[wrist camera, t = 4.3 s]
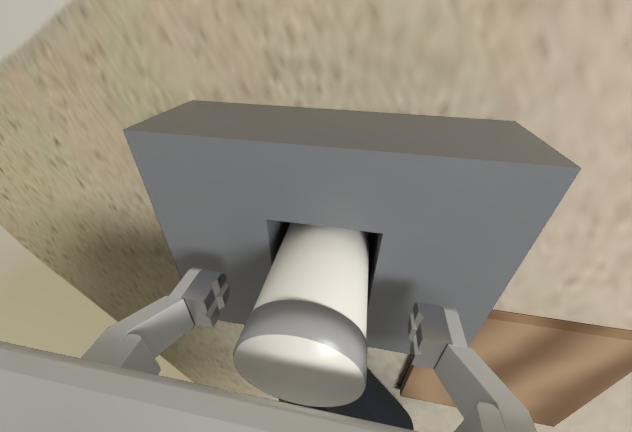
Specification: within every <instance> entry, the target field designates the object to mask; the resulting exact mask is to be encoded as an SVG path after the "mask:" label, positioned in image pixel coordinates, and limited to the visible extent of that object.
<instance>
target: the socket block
mask: <svg viewBox="0 0 632 432" xmlns="http://www.w3.org/2000/svg"><path fill="white" fill-rule="evenodd" d="M123 132H124V134H125V137H126V139H127V142H128V144H129V147H130V150H131V152H132V155H133V157H134V160H135V162H136V165H137V167H138V170H139V172H140V175H141V178H142V180H143V183H144V185H145V188H146V190H147V193H148V195H149V198H150V200H151V203H152V205H153V208H154V211H155V213H156V216H157V218H158V221H159V223H160V226H161V228H162V231H163V233H164V236H165V239H166V241H167V244H168V246H169V249H170V251H171V254H172V256H173V259H174V261H175V264H176V266H177V269H178V272H179V274H180V277H181V279H182V278H183V277H184V275H185V274H186V273H187V272H188V270H189V269H191V268H192V267H193V268H199V269H205V270H210V271H216V272H221V273H226V277H227V279H226V281H225V282H226V283H227V284H228V285H229V289H230V294H229V298H228V301H227V303H226V305H225V306H224V307H223V308H221V309H220V310H219V311H220V316H219V318H218V320H221V321H227V322H233V323H238V324H244V325H245V324H246V321H247V319H248V317H249V315H250V314H251V312H252V311H253V309H254V306H255V304H256V302H257V299H258V297H259V295H260V292H261V290H262V288H263V285H264V283H265V281H266V278H267V276H268V274H269V271H270V269H271V267H272V264H273V262H274V260H275V257H276V255H277V253H278V250H279V248H280V246H281V243H282V241H283V239H284V236H285V234H286V232H287V229H288V227H289V225H290V222H292V223H300V224H309V225H317V226H325V227H333V228H341V229H349V230H357V231H365V232H372V234H371V240H370V245H369V265H368V296H367V328H366V341H367V347H372V348H378V349H384V350H389V351H395V352H400V353H406V354H410V346H411V343H412V342H411V340H410V339H409V338H408V321H409V317H410V314H412V313H413V306H414V303H415V302H418V303H425V304H432V305H439V306H444V307H451V308H455V309H456V310H457V312H458V315H459V319H460V322H461V326H462V329H463V333H464V336H465V340H466V343H467V347H468V346H469V345H470V343H471V342H472V340H473V339H474V337H475V335H476V334H477V332H478V331H479V329H480V327H481V326H482V324H483V323H484V321H485V320H486V318H487V316H488V315H489V313H490V312H491V310H492V309H493V307H494V305H495V304H496V302H497V301H498V299H499V297H500V296H501V294H502V293H503V291H504V290H505V288H506V286H507V285H508V283H509V282H510V280H511V279H512V277H513V275H514V274H515V272H516V271H517V269H518V267H519V266H520V264H521V263H522V261H523V260H524V258H525V256H526V255H527V253H528V252H529V250H530V249H531V247H532V245H533V244H534V242H535V241H536V239H537V238H538V236H539V234H540V233H541V231H542V230H543V228H544V226H545V225H546V223H547V222H548V220H549V219H550V217H551V215H552V214H553V212H554V211H555V209H556V208H557V206H558V204H559V203H560V201H561V200H562V198H563V196H564V195H565V193H566V192H567V190H568V189H569V187H570V185H571V184H572V182H573V181H574V179H575V178H576V176H577V174H578V173H579V171H580V170H581V168H580V167H579V166H578V165H576V164H575V163H573V162H572V161H571V160H569V159H568V158H566V157H565V156H563V155H562V154H561V153H559V152H558V151H556V150H555V149H554V148H552V147H551V146H549V145H548V144H547V143H545V142H544V141H542V140H541V139H539V138H538V137H537V136H535V135H534V134H532V133H531V132H530V131H528V130H527V129H525V128H524V127H523V126H521V125H520V124H518V123H517V122H516V121H501V120H486V119H470V118H455V117H439V116H424V115H409V114H393V113H378V112H362V111H347V110H332V109H316V108H301V107H285V106H270V105H254V104H239V103H224V102H208V101H193V100H192V101H190V102H187V103H185V104H183V105H180V106H178V107H176V108H173V109H171V110H169V111H166V112H164V113H161V114H159V115H157V116H154V117H152V118H150V119H147V120H145V121H143V122H140V123H138V124H135V125H133V126H131V127H128V128H126V129H124V130H123Z"/></svg>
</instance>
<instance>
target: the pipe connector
mask: <svg viewBox="0 0 632 432" xmlns="http://www.w3.org/2000/svg"><path fill="white" fill-rule="evenodd" d="M279 402H284V403H289V404H293V405H298V406H303V407H307V408H312V409H316V410H321V411H326V412H330V413H335V414H340V415H344V416H349V417H353V418H358V419H363V420H367V421H372V422H377V423H381V424H386V425H390V426H395V427H400V428H404V429H409V430H413V424H412V420H411V418H410V416H409V414H408V413H407V412H406V410H405V409H404V408H403V407H402V406H401V405H400V404H399V403H398V401H397V400H396V399H395V398H394V397H393V396H392V395H391V394H390V393H389V392H388V391H387V389H386V388H385V387H384V386H383V385H382V384H381V383H380V382H379V381H378V380H377V379H376V377H375V376H374V375H373V374H372V373H371V372H370V371H369V370H368V369H367V378H366V388H365V390H364V392H363V394H362V395H361V396H360V397H359V398H358V399H357V400H355V401H353V402H351V403H349V404H346V405H342V406H335V407H314V406H306V405H301V404H296V403H292V402H288V401H285V400H282V399H279Z"/></svg>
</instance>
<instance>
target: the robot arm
mask: <svg viewBox="0 0 632 432" xmlns="http://www.w3.org/2000/svg"><path fill="white" fill-rule="evenodd" d="M226 279H227V277H226V273H221V272H216V271H210V270H205V269H199V268H193V267H192V268H191V269H189V270H188V272H187V273H186V274H185V275H184V277H183V278H182V279H181V281H180V282H179V283H178V285H177V286H176V287H175V288H174V290H173V291H172V292H171V294H170V295H169V296H164V297H162V298H160V299H159V300H157V301H155V302H153V303H151V304H150V305H148V306H146V307H144V308H142V309H141V310H139V311H137V312H135V313H133V314H132V315H130V316H128V317H126V318H124V319H123V320H121V321H119V322H117V323H116V324H114V325H112V326H110V327H108V328H107V329H106V330H105V332H104V333H103V334H102V335H101V336H100V337H99V338H98V339H97V341H96V342H95V343H94V344H93V345H92V346H91V347H90V349H89V350H88V351H87V352H86V353H85V354H84V355H83V356H82V357H81V359H80V358H76V357H71V356H66V355H62V354H57V353H52V352H48V351H43V350H38V349H34V348H29V347H25V346H20V345H16V344H11V343H7V342H2V341H0V432H418V431H414V430H409V429H404V428H400V427H395V426H390V425H386V424H381V423H377V422H372V421H367V420H363V419H358V418H353V417H349V416H344V415H340V414H335V413H330V412H326V411H321V410H316V409H312V408H307V407H303V406H298V405H293V404H289V403H284V402H279V401H275V400H270V399H266V398H261V397H256V396H252V395H247V394H243V393H238V392H233V391H229V390H224V389H219V388H215V387H210V386H205V385H201V384H196V383H192V382H187V381H182V380H177V379H173V378H168V377H164V376H159V375H158V374H159V372H160V366H159V364H158V363H157V361H156V360H155V358H156V357H157V356H158V355H160V354H161V353H162V352H163V351H165V350H166V349H167V348H168V347H170V346H171V345H172V344H173V343H175V342H176V341H177V340H178V339H180V338H181V337H182V336H183V335H185V334H186V333H187V332H188V331H190V330H191V329H192V328H193V327H194V325H196V326H203V327H209V328H213V327H214V325H215V324H216V322H217V320H218V318H219V316H220V311H219V310H220V309H221V308H223V307H224V306H225V305H226V303H227V301H228V298H229V294H230V289H229V285H228V284H227V283H226V282H225V281H226ZM408 338H409V339H410V340H411V342H412V343H411V346H410V357H411V365H415V366H419V367H424V368H429V369H434V372H435V374H436V375H437V377H438V378H439V380H440V382H441V383H442V385H443V386H444V388H445V389H446V391H447V393H448V394H449V396H450V397H451V399H452V400H453V402H454V404H455V405H456V407H457V408H458V410H459V411H460V413H461V415H462V416H463V418H464V421H463V422H462V423H461V424H460V425H459V426H458V428H457V429H456V430H455V431H454V432H537V431H536V428H535V426H534V423H533V421H532V418H531V416H530V413H529V411H528V410H527V408H526V407H525V406H524V405H523V404H522V403H521V402H520V401H519V400H518V399H517V397H516V396H515V395H514V394H513V393H512V392H511V391H510V390H509V389H508V388H507V386H506V385H505V384H504V383H503V382H502V381H501V380H500V379H499V378H498V377H497V375H496V374H495V373H494V372H493V371H492V370H491V369H490V368H489V367H488V365H487V364H486V363H485V362H484V361H483V360H482V359H481V358H480V357H479V356H478V354H477V353H476V352H475V351H474V350H473V349H472V348H468V347H467V343H466V340H465V336H464V333H463V329H462V326H461V322H460V319H459V315H458V312H457V310H456V309H455V308H451V307H444V306H439V305H432V304H425V303H418V302H415V303H414V306H413V313H412V314H410V317H409V321H408Z"/></svg>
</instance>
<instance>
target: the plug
mask: <svg viewBox="0 0 632 432" xmlns="http://www.w3.org/2000/svg"><path fill="white" fill-rule="evenodd" d="M369 234H370V232H365V231H357V230H349V229H341V228H333V227H325V226H317V225H309V224H300V223H292V222H290V225H289V227H288V229H287V232H286V234H285V236H284V239H283V241H282V243H281V246H280V248H279V250H278V253H277V255H276V257H275V260H274V262H273V264H272V267H271V269H270V271H269V274H268V276H267V278H266V281H265V283H264V285H263V288H262V290H261V292H260V295H259V297H258V299H257V302H256V304H255V306H254V309H253V311H252V312H251V314H250V315H249V317H248V319H247V321H246V324H245V326H244V328H243V331H242V333H241V335H240V338H239V340H238V342H237V344H236V347H235V349H234V352H233V360H234V364H235V367H236V369H237V370H238V372H239V373H240V374H241V376H242V377H243V378H244V379H246V380H247V381H248V382H249V383H250V384H252V385H253V386H255V387H256V388H258V389H260V390H261V391H263V392H265V393H267V394H269V395H272V396H274V397H276V398H279V399H282V400H285V401H288V402H292V403H296V404H301V405H306V406H314V407H335V406H342V405H346V404H349V403H351V402H353V401H355V400H357V399H358V398H359V397H360V396H361V395H362V394H363V392H364V390H365V388H366V378H367V341H366V328H367V296H368V265H369Z"/></svg>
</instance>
